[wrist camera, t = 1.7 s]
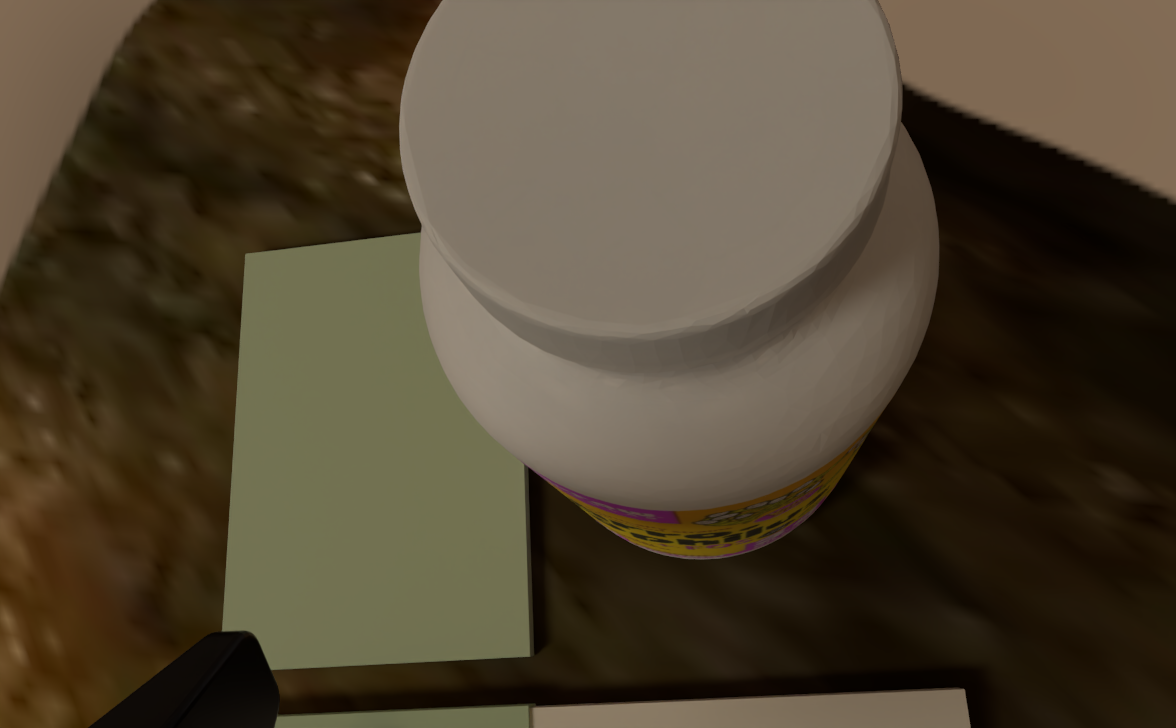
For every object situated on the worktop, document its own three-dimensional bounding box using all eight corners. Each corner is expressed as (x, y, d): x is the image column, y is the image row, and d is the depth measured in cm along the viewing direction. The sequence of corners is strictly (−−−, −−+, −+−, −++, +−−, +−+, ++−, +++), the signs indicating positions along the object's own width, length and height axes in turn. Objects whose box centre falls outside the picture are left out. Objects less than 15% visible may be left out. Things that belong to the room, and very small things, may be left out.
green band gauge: (975, 801, 18) (991, 813, 16) (199, 822, 20) (165, 833, 19) (878, 184, 21) (886, 159, 20) (235, 262, 24) (209, 243, 23)
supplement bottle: (539, 549, 20) (222, 421, 8) (570, 268, 22) (350, -181, 10) (853, 578, 19) (1034, 477, 7) (861, 278, 21) (1015, -224, 9)
